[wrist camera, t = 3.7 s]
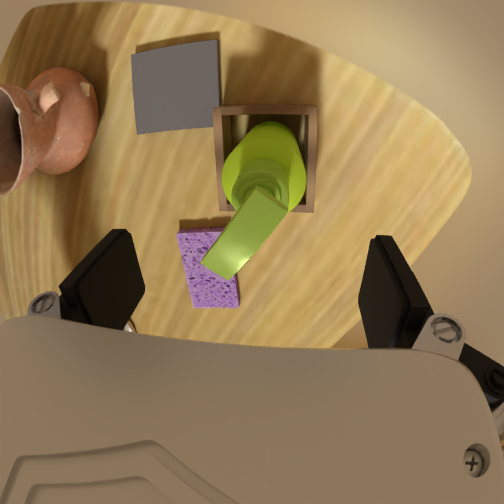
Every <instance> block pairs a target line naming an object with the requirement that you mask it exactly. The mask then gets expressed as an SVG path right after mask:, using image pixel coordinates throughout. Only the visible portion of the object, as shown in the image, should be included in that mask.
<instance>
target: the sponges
mask: <svg viewBox="0 0 504 504" xmlns="http://www.w3.org/2000/svg"><path fill="white" fill-rule="evenodd" d="M224 228H225V227H222V228H202V229H199V228H198V229H182V230H179V232H178V233H177V234H176V236H177V239H178V243H179V248H180V252H181V254H182V261H183V267H184V269H185V274H186V279H187V283H188V287H189V292H190V295H191V300H192V304H193V307H194V308H212V307H222V308H223V307H228V308H239V305H240V299H239V293H238V284H237V278H236V274H235V275H234V276H233V277H232V278H231V279H229V280H226V279H224V278H223V277H221V276H219V275H218V274H216V273H215V272H213V271H211V270H210V269H208V268H207V267H205V266H203V265H202V264H201V263H200V262H201V260H202V259H203V257H204V255H205V254H206V252H207V251H208V250H209V249H210V247H211V246H212V245H213V243H214V242H215V241H216V239H217V238H218V237H219V235H220V234H221V232H222V231H223V230H224Z"/></svg>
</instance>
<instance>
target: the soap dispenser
mask: <svg viewBox="0 0 504 504" xmlns="http://www.w3.org/2000/svg"><path fill="white" fill-rule="evenodd" d="M221 179H222V187H223V190H224V193H225V195H226V197H227V199H228V200H229V202H230V203H231V204H232V205H233V207H234V209H235V210H236V213H235V215H234V216H233V217H232V219H231V220H230V222H229V223H228V224H227V226H226V227H225V228H224V230H223V231H222V232H221V234H220V235H219V237H218V238H217V239H216V241H215V242H214V243H213V245H212V246H211V247H210V249H209V250H208V251H207V252H206V254H205V255H204V257H203V259H202V260H201V262H200V263H201V264H202V265H203V266H205V267H207V268H208V269H210V270H211V271H213V272H215V273H216V274H218V275H219V276H221V277H223V278H224V279H226V280H229V279H231V278H232V277H233V276H234V275H235V274H236V273H237V272H238V271H239V270H240V269H241V268H242V267H243V266H244V265H245V264H246V262H247V261H248V260H249V259H250V258H251V257H252V256H253V255H254V253H255V252H256V251H257V250H258V249H259V248H260V246H261V245H262V244H263V243H264V241H265V240H266V239H267V238H268V237H269V235H270V234H271V233H272V232H273V230H274V229H275V228H276V227H277V225H278V224H279V223H280V222H281V220H282V219H283V218H284V217H285V215H286V214H287V213H288V212H290V211H291V210H292V209H294V208H295V207H296V206H297V205H298V203H299V202H300V200H301V199H302V197H303V195H304V192H305V189H306V182H307V178H306V171H305V167H304V164H303V160H302V157H301V154H300V150H299V147H298V144H297V141H296V138H295V136H294V134H293V132H292V131H291V130H290V129H289V128H288V127H286V126H285V125H283V124H281V123H278V122H273V121H268V122H263V123H260V124H258V125H256V126H254V127H253V128H252V129H251V130H250V131H249V132H248V133H247V135H246V136H245V137H244V138H243V139H242V140H241V142H240V143H239V144H238V145H237V146H236V147H235V149H234V150H233V151H232V152H231V153H230V155H229V156H228V158H227V159H226V161H225V163H224V166H223V169H222V177H221Z"/></svg>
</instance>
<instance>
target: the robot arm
mask: <svg viewBox="0 0 504 504" xmlns="http://www.w3.org/2000/svg"><path fill="white" fill-rule="evenodd" d="M59 288H60V291H61V293H62V294H61V296H60V297H59V295H58V294H57V293H56V292H53V291H50V292H45V293H42V294H40V295H38V296H37V297H36V298H34V299H33V300H32V301H31V303H30V305H29V307H28V315H27V316H21V317H16V318H12V319H9V320H7V321H5V322H4V323H2V324H1V325H0V504H504V367H503V366H502V365H500V364H499V363H497V362H495V361H494V360H492V359H491V358H489V357H487V356H486V355H484V354H482V353H481V352H479V351H477V350H476V349H474V348H472V347H471V346H469V345H467V344H466V343H464V342H465V339H466V332H465V329H464V327H463V325H462V324H461V323H460V322H459V321H458V320H457V319H455V318H454V317H452V316H450V315H447V314H442V313H439V314H434V313H433V310H432V308H431V306H430V304H429V302H428V300H427V298H426V296H425V294H424V292H423V290H422V288H421V286H420V284H419V282H418V281H417V279H416V277H415V275H414V273H413V272H412V271H411V269H410V267H409V265H408V264H407V262H406V260H405V258H404V256H403V255H402V253H401V251H400V249H399V248H398V246H397V244H396V243H395V241H394V239H393V238H392V236H387V235H376V237H375V239H371V241H370V245H369V250H368V255H367V260H366V265H365V270H364V274H363V279H362V283H361V288H360V292H359V296H358V304H359V308H360V312H361V317H362V321H363V325H364V329H365V334H366V338H367V342H368V347H369V348H293V347H270V346H252V345H238V344H225V343H214V342H204V341H195V340H186V339H177V338H169V337H162V336H154V335H148V334H141V333H136V331H135V329H134V327H133V325H132V323H131V322H130V321H129V319H130V317H131V315H132V314H133V312H134V310H135V308H136V307H137V305H138V303H139V301H140V300H141V298H142V296H143V295H144V292H145V284H144V281H143V277H142V274H141V270H140V266H139V263H138V259H137V255H136V251H135V247H134V243H133V239H132V236H131V234H130V233H129V232H128V231H127V230H126V229H112V230H111V231H110V232H109V233H108V234H107V235H106V236H105V237H104V238H103V239H102V240H101V241H100V242H99V243H98V244H97V245H96V246H95V247H94V248H93V249H92V250H91V251H90V252H89V253H88V255H87V256H86V257H85V258H84V259H83V260H82V261H81V262H80V263H79V264H78V265H77V266H76V267H75V268H74V270H73V271H72V272H71V273H70V274H69V275H68V276H67V277H66V278H65V280H64V281H63V282H62V283H61V284H60V285H59Z"/></svg>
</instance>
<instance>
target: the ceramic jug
mask: <svg viewBox="0 0 504 504" xmlns="http://www.w3.org/2000/svg"><path fill="white" fill-rule="evenodd" d="M98 120H99V111H98V103H97V98H96V95H95V90H94V87H93V85H92V84H91V83H90V82H89V81H88V80H87V79H86V78H85V77H84V76H83V75H82V74H81V73H79V72H77V71H76V70H74V69H71V68H67V67H55V68H51V69H48V70H46V71H44V72H43V73H41V74H40V75H38V76H37V77H36V78H35V79H34V80H33V81H32V82H31V83H30V84H29V86H28V87H27V88H26V89H23V88H21V87H19V86H15V85H9V84H0V197H2V196H5V195H7V194H9V193H10V192H12V191H13V190H14V189H16V188H17V187H18V186H19V185H20V184H21V183H22V182H23V181H25V179H26V178H27V177H28V176H29V175H30V174H31V173H32V172H33V171H34V170H35V169H37V170H38V171H40V172H43V173H46V174H53V175H54V174H62V173H65V172H68V171H70V170H72V169H73V168H75V167H76V166H77V165H78V164H79V163H80V162H81V161H82V160H83V159H84V158H85V157H86V155H87V154H88V152H89V150H90V148H91V145H92V143H93V141H94V139H95V137H96V133H97V129H98Z"/></svg>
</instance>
